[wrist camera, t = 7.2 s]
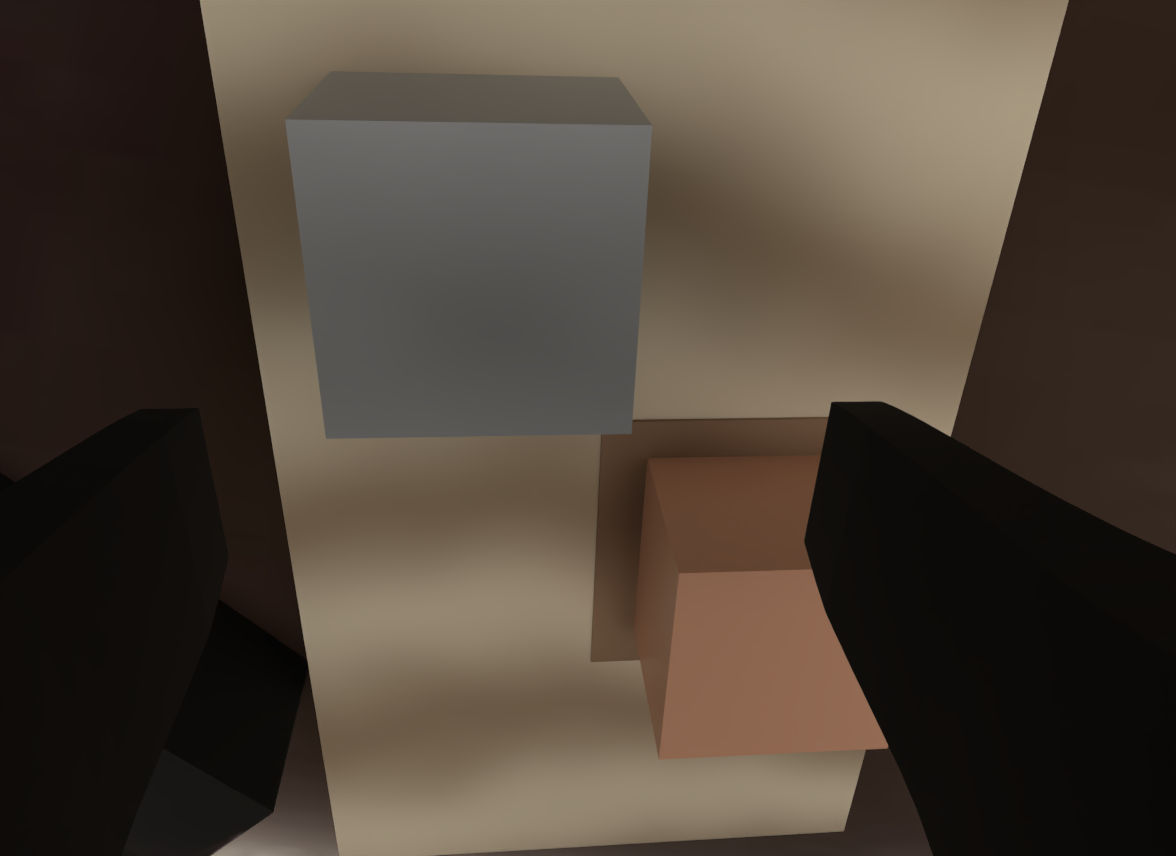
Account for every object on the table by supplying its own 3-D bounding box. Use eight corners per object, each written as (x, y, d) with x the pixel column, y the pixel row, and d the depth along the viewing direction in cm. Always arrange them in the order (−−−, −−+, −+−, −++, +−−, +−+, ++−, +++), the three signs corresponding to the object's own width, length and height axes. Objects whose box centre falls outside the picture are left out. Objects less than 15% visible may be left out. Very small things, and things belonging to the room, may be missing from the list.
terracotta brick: (828, 621, 23) (887, 748, 20) (633, 628, 23) (659, 759, 19) (865, 454, 21) (940, 565, 17) (647, 457, 20) (678, 573, 17)
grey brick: (606, 335, 19) (631, 433, 15) (357, 336, 18) (325, 439, 15) (618, 77, 16) (652, 125, 13) (331, 71, 16) (285, 119, 12)
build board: (832, 803, 28) (844, 834, 28) (344, 830, 27) (339, 864, 26) (1040, -8, 17) (1072, -2, 16) (211, -34, 16) (192, -30, 15)
